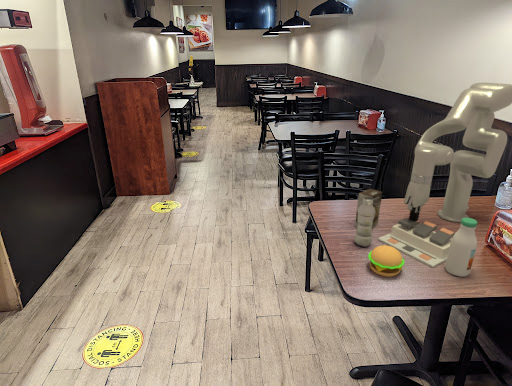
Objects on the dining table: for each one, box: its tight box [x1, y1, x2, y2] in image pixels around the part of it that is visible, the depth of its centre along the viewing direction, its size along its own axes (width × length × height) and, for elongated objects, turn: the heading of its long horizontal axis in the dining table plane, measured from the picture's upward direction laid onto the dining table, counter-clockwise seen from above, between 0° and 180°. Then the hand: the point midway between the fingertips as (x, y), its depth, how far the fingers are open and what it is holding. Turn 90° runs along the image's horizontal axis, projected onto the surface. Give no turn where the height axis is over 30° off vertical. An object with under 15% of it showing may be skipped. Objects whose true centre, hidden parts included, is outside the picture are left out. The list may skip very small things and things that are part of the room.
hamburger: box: [367, 244, 405, 278], centre depth 121 cm, size 12×12×9 cm
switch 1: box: [397, 217, 421, 228], centre depth 142 cm, size 8×5×1 cm, turn 123°
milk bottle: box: [444, 217, 478, 278], centre depth 118 cm, size 8×8×20 cm
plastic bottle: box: [354, 197, 375, 247], centre depth 135 cm, size 6×7×20 cm
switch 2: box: [429, 227, 456, 246], centre depth 131 cm, size 8×5×1 cm, turn 123°
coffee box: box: [354, 188, 383, 229], centre depth 151 cm, size 9×6×16 cm
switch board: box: [377, 223, 452, 269], centre depth 136 cm, size 17×24×5 cm
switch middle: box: [413, 220, 438, 238], centre depth 136 cm, size 8×5×1 cm, turn 123°
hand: (413, 220), depth 143 cm, fingers closed
